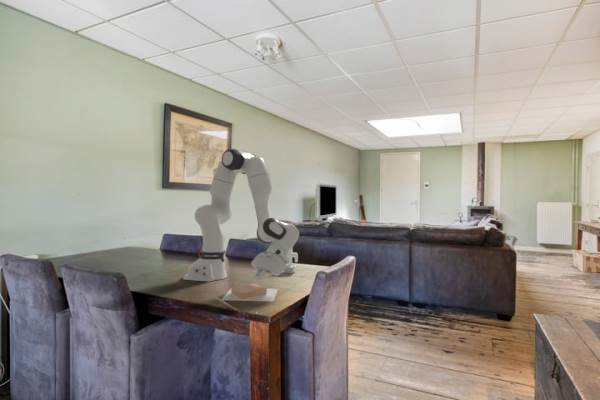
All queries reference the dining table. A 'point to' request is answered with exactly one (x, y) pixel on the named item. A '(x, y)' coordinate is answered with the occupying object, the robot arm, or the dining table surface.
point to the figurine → (289, 266)
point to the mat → (269, 297)
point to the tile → (248, 291)
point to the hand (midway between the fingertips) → (257, 278)
